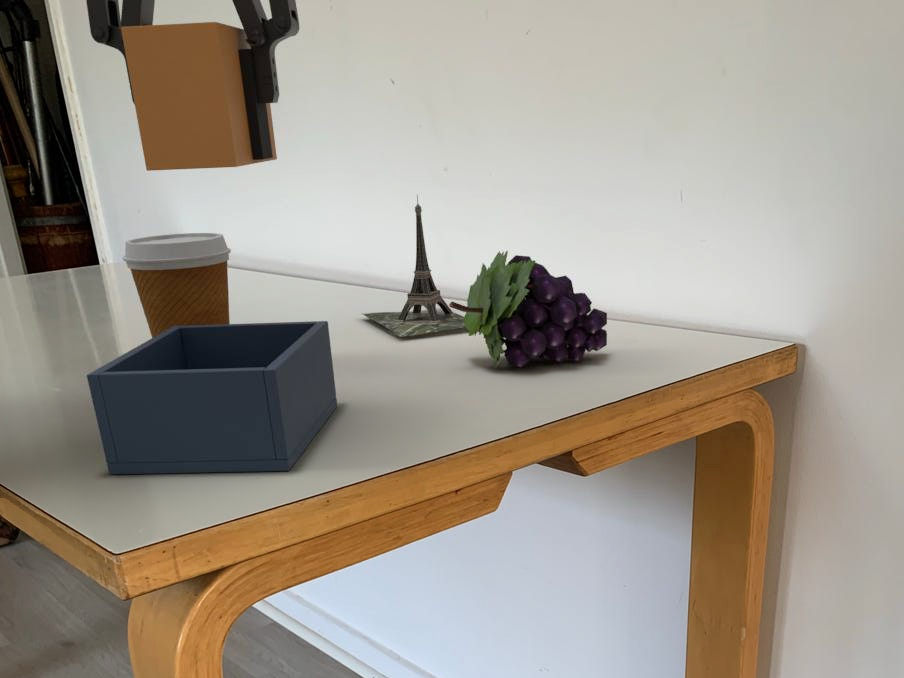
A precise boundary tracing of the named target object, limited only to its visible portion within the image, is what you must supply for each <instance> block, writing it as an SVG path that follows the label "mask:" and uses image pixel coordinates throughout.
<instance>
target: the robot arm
mask: <svg viewBox="0 0 904 678" xmlns="http://www.w3.org/2000/svg"><path fill="white" fill-rule="evenodd" d="M231 1H232V3H233V6H234V8H235V11H236V13H237V16H238V19H239V21H240V23H241V26H242V29H244V31H245V33H246V36H247V38H248V39H245V40H246V42H247V43H248V44H249V45H250V46H251V49H238V53H239V60H240V68H241V75H242V82H243V90H244V97H245V105H246V112H247V120H248V127H249V135H250V142H251V150H252V157H253V160H262V159H269V158H273V154H272V146H271V138H270V130H269V122H268V114H267V106H266V103H270V104H278V102H279V98H280V87H279V80H278V79H279V78H278V71H277V63H276V53H275V52H276V51H275V50H276V48H277V46H278V45H279V44H280V43H281V42H283V41H285V40H287V39H289V38H290V37H295V36H297V34H299V31H300V20H299V14H298V7H297V1H296V0H268V4H269V8H270V9H269V10H270V14H271V18H269V19H268V17H267V15H266V12H265V9H264V7H263V4H262V2H261V0H231ZM155 2H156V0H122V4H121V11H120V4H119V3H120V2H119V0H86V8H87V9H86V10H87V16H88V23H89V30H90V31H89V32H90V35H91V37H92V39H93V41H95V42H96V43H98V44H101V45H104V46H107V47H111V48H113V49H115V50H118V52H120V53H121V55H122V56H123V58H124V62H125V67H126V73H127V79H128V84H129V89H130V95H131V100H132V103H133V104H134V105H135V103H134V98H133V92H132V87H131V81H130V75H129V70H128V64H127V59H126V53H125V48H124V42H123V37H122V31H121V27H128V26H146V25H154V15H155V14H154V13H155V4H156V3H155Z"/></svg>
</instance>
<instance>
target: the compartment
mask: <svg viewBox="0 0 904 678" xmlns="http://www.w3.org/2000/svg"><path fill="white" fill-rule="evenodd" d="M330 338H331V337H330V330H329V322H328V320H318V321H317V320H315V321H286V322H285V321H284V322H255V323H253V322H252V323H251V322H250V323H230V324H220V325H190V326H173V327H171V328H169V329H168V330H166V331H164V332H162V333H160V334H159V335H157V336H155V337H153V338H152V337H151V338H150V339H148V340H147V341H145V342H143V343H140V344H139V345H137V346H135V347H134V348H132V349H130V350H128V351H127V352H125V353H124V354H121V355H119V356H118V357H116V358H114V359H112V360H111V361H109V362H107V363H106V364H103V365H102V366H101V367H99V368H97V369H95V370H93V371H91V372H89V373H88V374H87V375H86V379H87V383H88V388H89V391H90V396H91V400H92V404H93V410H94V415H95V418H96V422H97V426H98V431H99V435H100V441H101V443H102V448H103V453H104V457H105V461H106V464H107V469H108V473H109V475H147V474H148V475H151V474H152V475H153V474H154V475H155V474H157V475H158V474H199V473H200V474H201V473H204V474H206V473H249V472H250V473H251V472H255V473H256V472H289V471H290V470H291V469H292V468H293V467H294V465H295V463H297V461H298V460H299V458H300V457H301V455H302V454H303V453H304V451H305V450H306V449H307V447H308V446H309V445H310V443H311V442H312V441H313V440H314V438H315V436H316V435H317V434H318V433H319V431H320V429H321V428H322V427H323V426H324V424H325V423H326V422H327V420H328V419H329V418H330V416H331V415H332V414H333V413H334V411H335V410H336V408H337V407H338V399H337V390H336V382H335V372H334V365H333V356H332V348H331V347H332V346H331V339H330Z"/></svg>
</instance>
